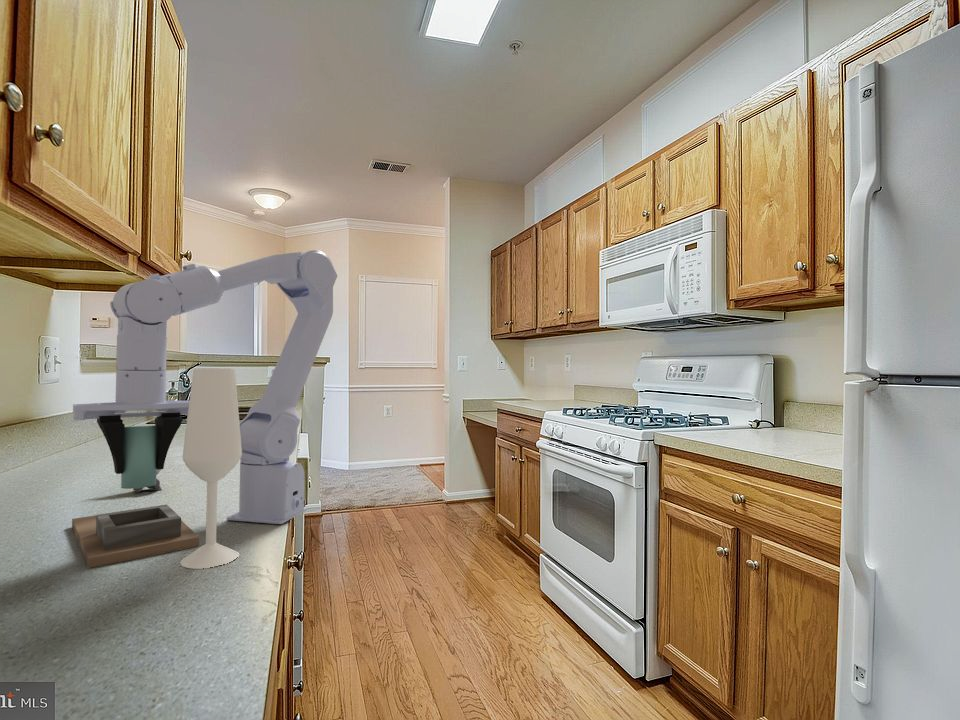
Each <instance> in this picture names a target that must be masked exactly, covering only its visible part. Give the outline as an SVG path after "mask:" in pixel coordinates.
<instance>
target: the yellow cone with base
mask: <svg viewBox="0 0 960 720" xmlns="http://www.w3.org/2000/svg"><path fill="white" fill-rule="evenodd" d="M161 470H162V469H160V470H157V469H156V476H157V475H158V474H159V473H161ZM160 484H161V483H160V480H159V479H158V478H157V477H156V485H154V486H149V487H146V488H147V489H150V490H156V491H157V490H158V491H163V490H162V488H161V485H160ZM144 488H145V487H143V488H133V491H135V492H136V494H138V493H140V492H141V491H142V490H143V489H144Z"/></svg>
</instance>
